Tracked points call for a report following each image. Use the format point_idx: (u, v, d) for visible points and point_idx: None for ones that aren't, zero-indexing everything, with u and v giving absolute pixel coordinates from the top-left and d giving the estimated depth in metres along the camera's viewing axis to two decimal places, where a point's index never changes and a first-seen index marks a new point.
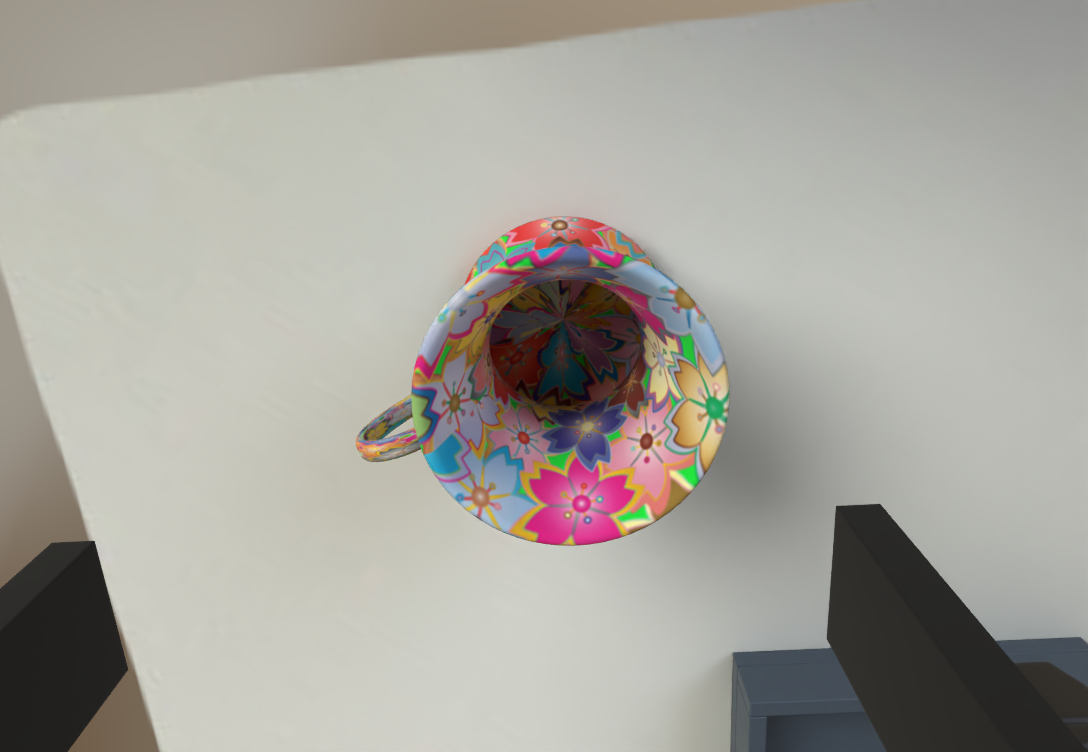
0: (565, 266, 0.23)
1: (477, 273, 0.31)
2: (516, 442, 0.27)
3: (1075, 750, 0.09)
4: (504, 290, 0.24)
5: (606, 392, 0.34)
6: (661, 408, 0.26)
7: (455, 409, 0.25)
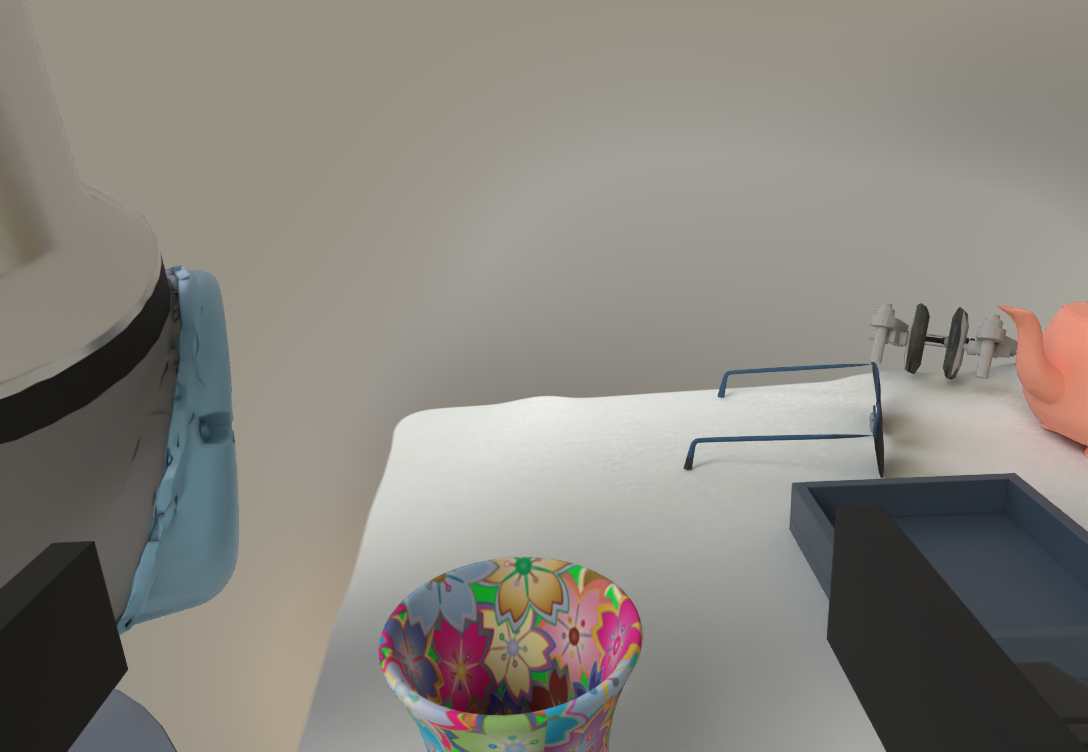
0: (399, 642, 0.29)
1: None
2: None
3: (1075, 750, 0.09)
4: None
5: None
6: (548, 634, 0.32)
7: None
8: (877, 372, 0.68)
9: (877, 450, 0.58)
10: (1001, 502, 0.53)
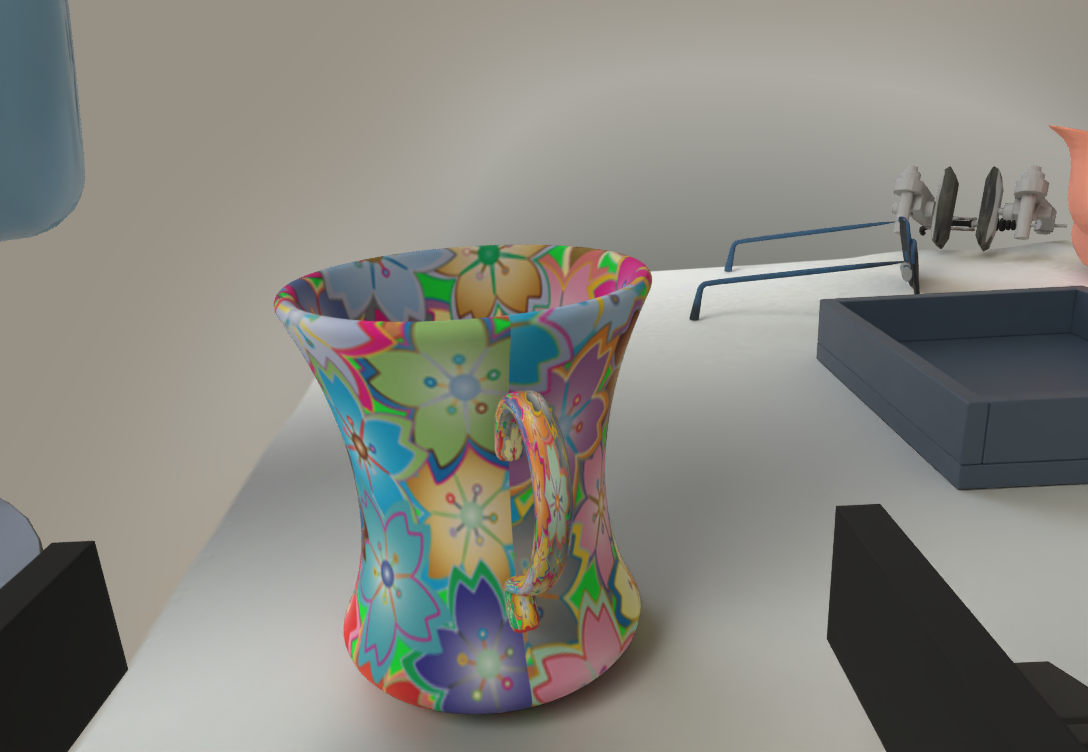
0: (309, 304, 0.20)
1: (391, 664, 0.20)
2: None
3: (1074, 750, 0.09)
4: None
5: None
6: None
7: None
8: (907, 221, 0.60)
9: (915, 278, 0.50)
10: (1067, 319, 0.45)
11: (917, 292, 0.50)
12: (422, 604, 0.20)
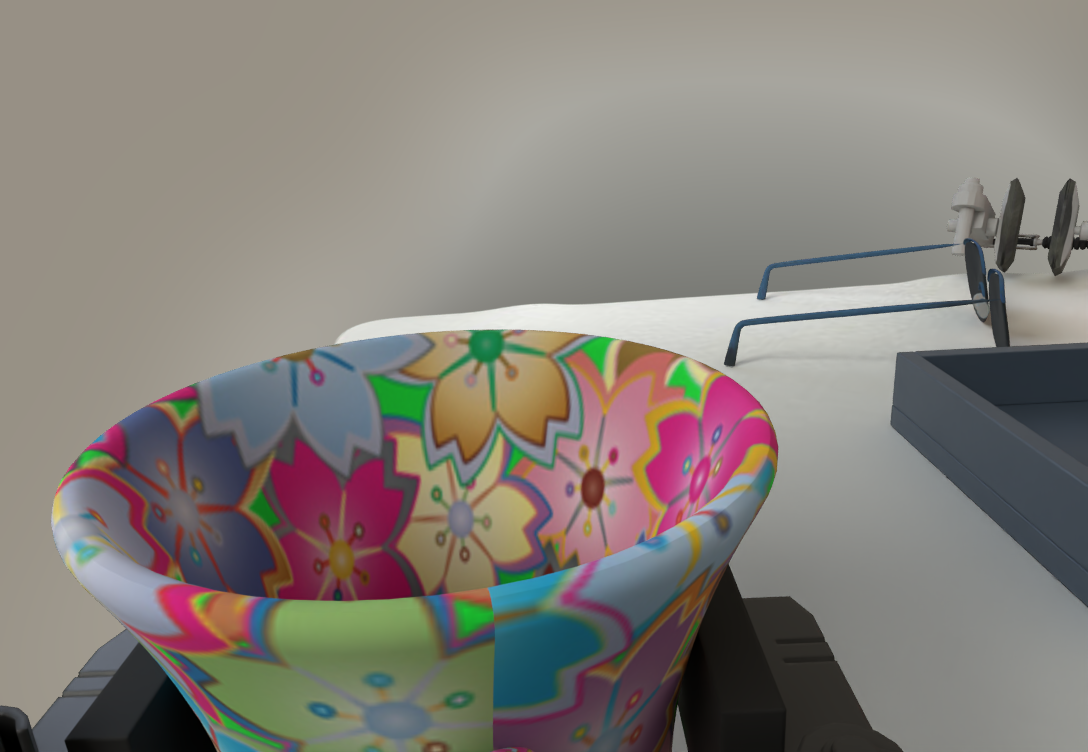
0: (158, 456, 0.12)
1: None
2: None
3: (755, 656, 0.10)
4: (158, 571, 0.10)
5: None
6: (536, 489, 0.15)
7: None
8: (978, 245, 0.51)
9: (1006, 321, 0.40)
10: None
11: (1008, 337, 0.41)
12: None
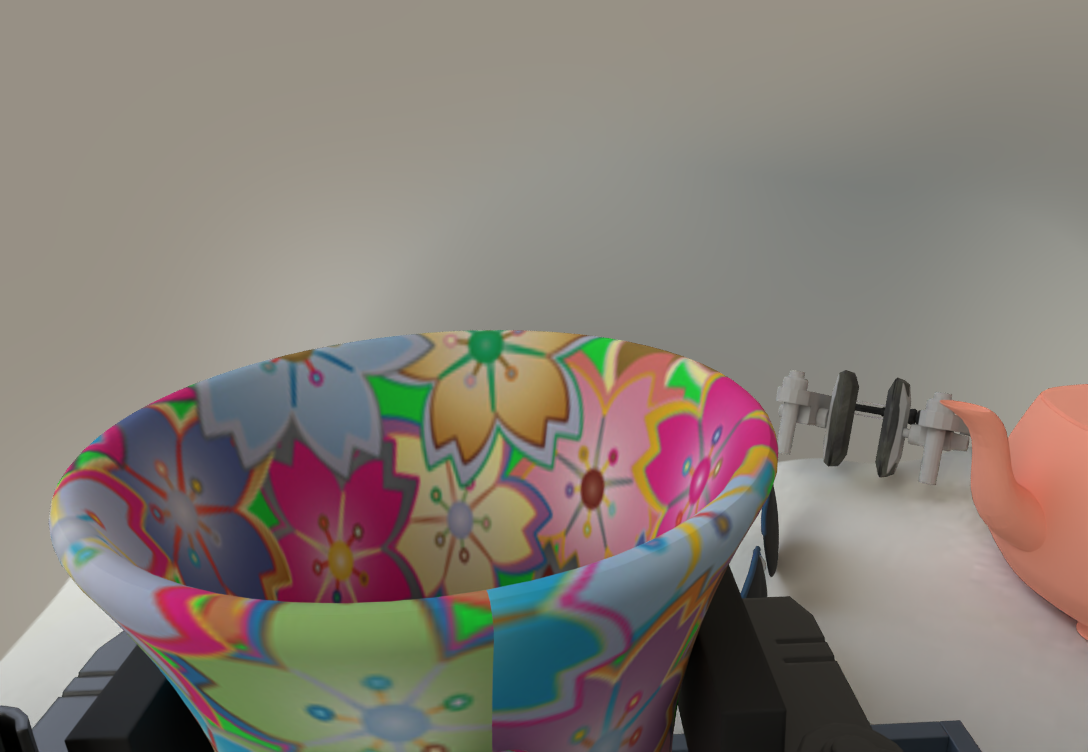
0: (157, 458, 0.12)
1: None
2: None
3: (755, 656, 0.10)
4: (157, 572, 0.10)
5: None
6: (536, 490, 0.15)
7: None
8: None
9: None
10: None
11: None
12: None
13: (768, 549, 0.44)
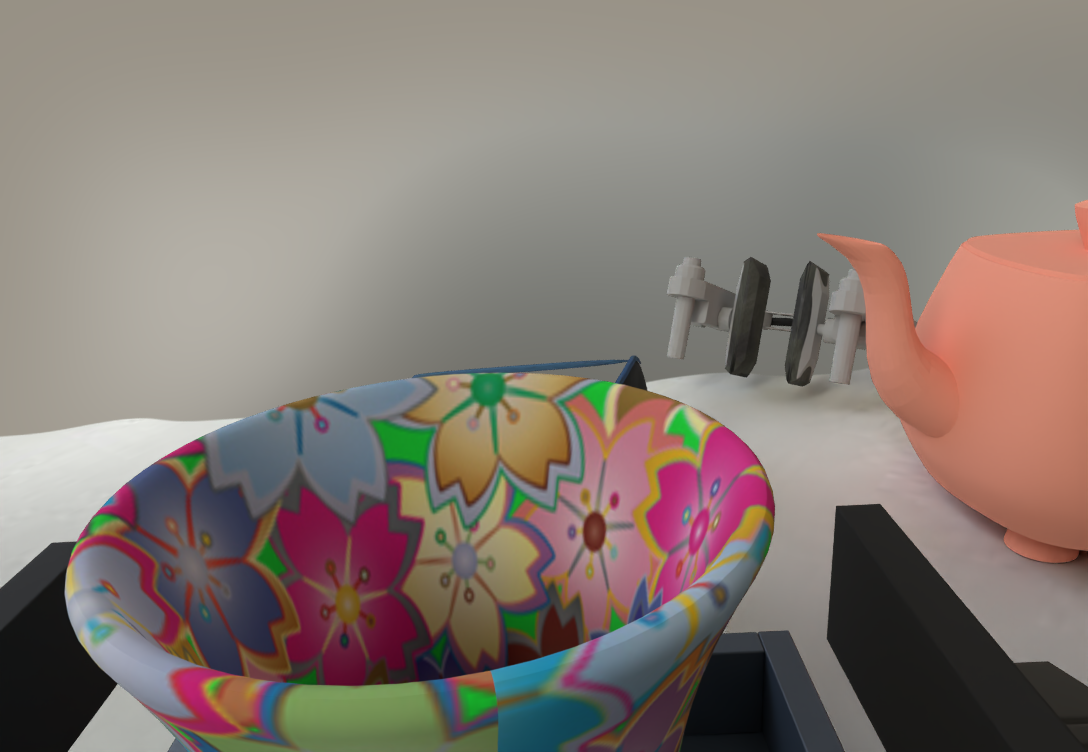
0: (167, 515, 0.12)
1: None
2: None
3: (1075, 750, 0.09)
4: (169, 634, 0.10)
5: None
6: (539, 532, 0.15)
7: None
8: (622, 374, 0.36)
9: None
10: (752, 708, 0.20)
11: None
12: None
13: None
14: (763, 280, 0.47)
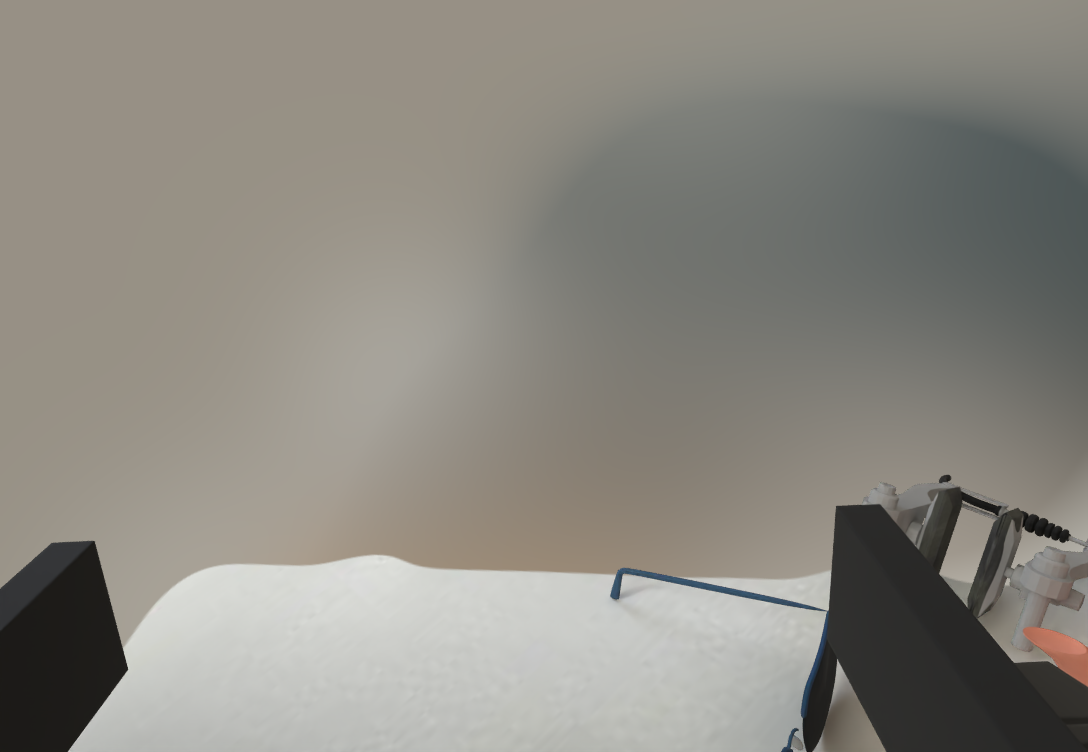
0: None
1: None
2: None
3: (1074, 750, 0.09)
4: None
5: None
6: None
7: None
8: (819, 653, 0.41)
9: None
10: None
11: None
12: None
13: (807, 730, 0.40)
14: (955, 508, 0.49)
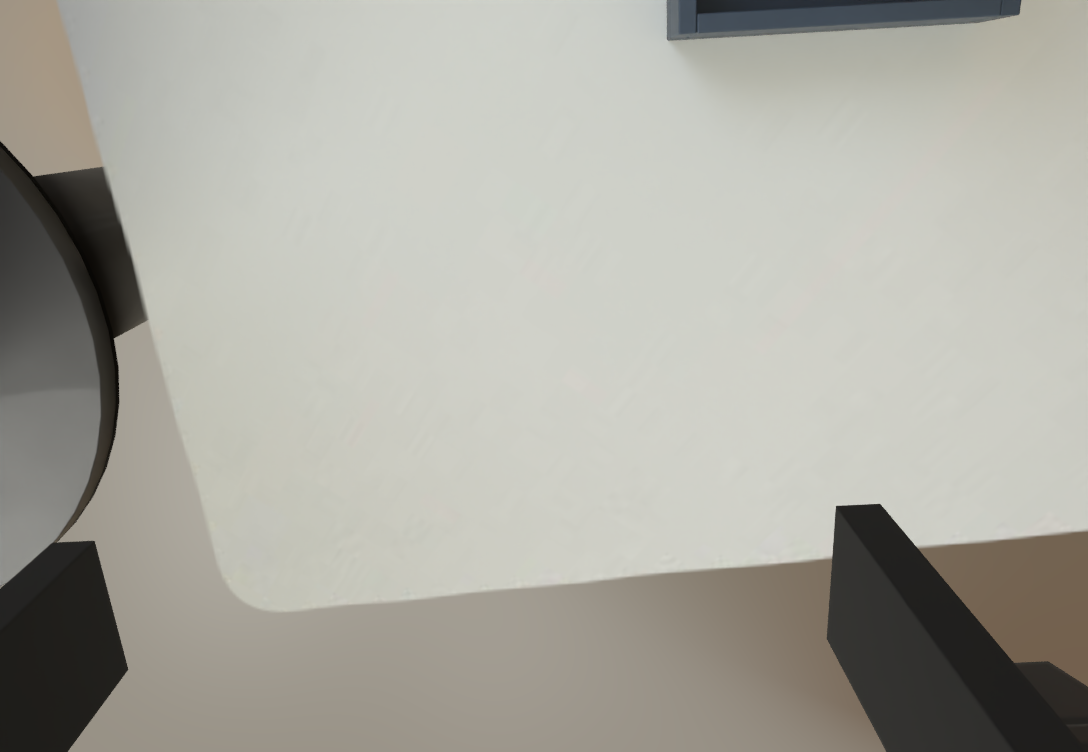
0: None
1: None
2: None
3: (1074, 751, 0.09)
4: None
5: None
6: None
7: None
8: None
9: None
10: None
11: None
12: None
13: None
14: None
